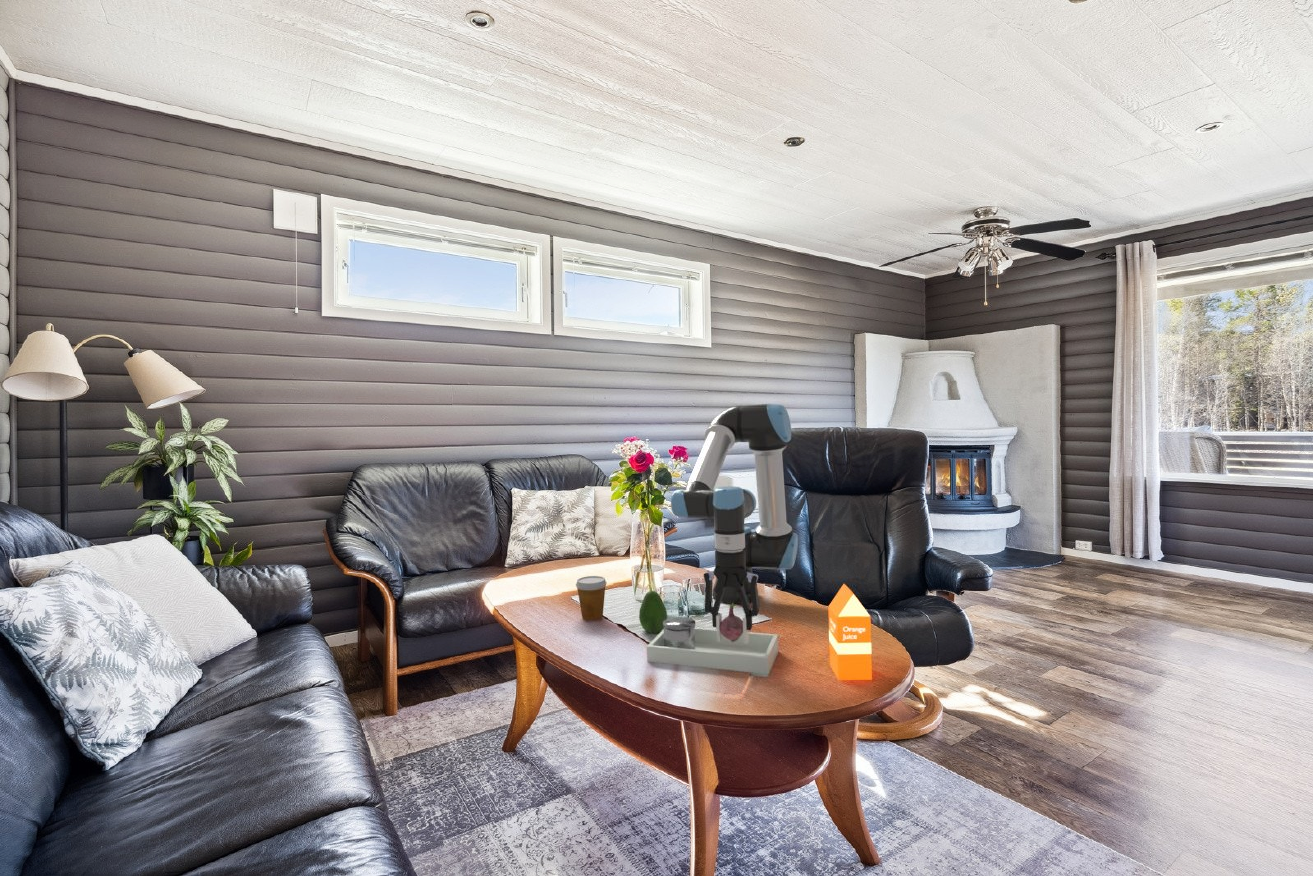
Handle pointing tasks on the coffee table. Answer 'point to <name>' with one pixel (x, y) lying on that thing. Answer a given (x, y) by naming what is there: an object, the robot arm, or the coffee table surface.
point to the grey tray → (720, 652)
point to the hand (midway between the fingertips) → (732, 641)
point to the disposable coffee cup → (591, 597)
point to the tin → (679, 632)
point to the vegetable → (731, 626)
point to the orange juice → (849, 637)
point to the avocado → (652, 613)
